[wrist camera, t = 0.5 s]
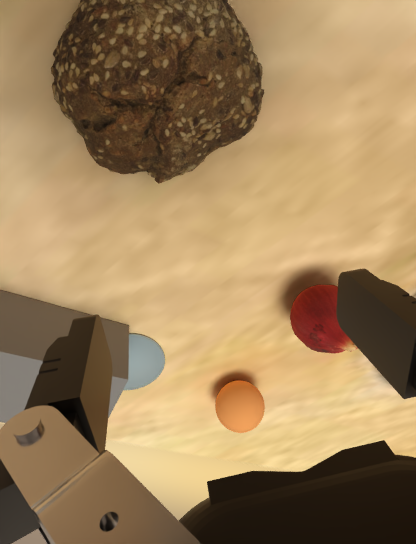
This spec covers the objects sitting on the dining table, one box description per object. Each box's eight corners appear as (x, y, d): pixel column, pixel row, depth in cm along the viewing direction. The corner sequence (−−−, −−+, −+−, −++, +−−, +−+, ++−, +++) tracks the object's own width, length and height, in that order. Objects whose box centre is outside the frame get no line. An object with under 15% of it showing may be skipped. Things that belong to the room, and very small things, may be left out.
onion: (299, 329, 36) (338, 389, 30) (266, 297, 34) (301, 355, 27) (346, 292, 35) (397, 346, 28) (315, 257, 32) (364, 307, 26)
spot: (74, 355, 33) (74, 357, 33) (140, 321, 32) (140, 322, 32) (116, 398, 36) (116, 400, 36) (177, 368, 36) (177, 369, 36)
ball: (203, 384, 38) (212, 424, 33) (245, 363, 37) (260, 400, 33) (222, 410, 40) (233, 450, 36) (262, 390, 40) (278, 429, 36)
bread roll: (177, -94, 20) (190, -138, 16) (279, 107, 26) (307, 114, 22) (8, 57, 22) (-22, 54, 17) (140, 211, 28) (142, 236, 24)
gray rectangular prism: (-33, 347, 30) (-70, 411, 25) (-15, 285, 28) (-52, 340, 22) (103, 377, 35) (98, 436, 29) (129, 325, 32) (128, 379, 27)
